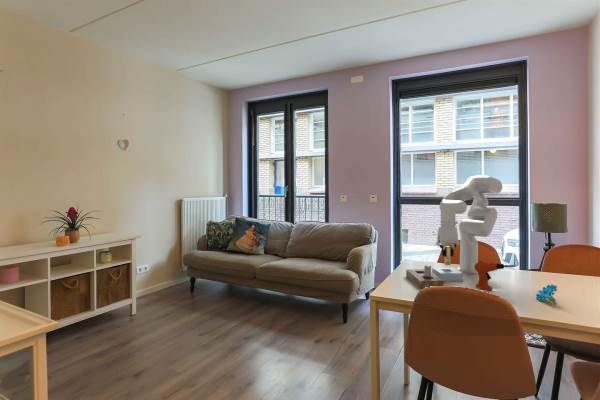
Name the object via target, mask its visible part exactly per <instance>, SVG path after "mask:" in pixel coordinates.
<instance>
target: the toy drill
mask: <svg viewBox="0 0 600 400" xmlns="http://www.w3.org/2000/svg"><path fill="white" fill-rule="evenodd" d="M474 268H475V270H476V271H477V272H478V283H476V284H475V288H476V289H477V290H479V291H483V292H484V291H485V290H486V291H487V292H492V291H493V287H492V286H490V285H489V280H491V279H492V277H491V276H490V273H489V272H494V271H497V270H501V269H502V270H504V269H505V268H516V265H515V264H509V265H508V264H507V265H506V264H505V265H504V264H503V263H497V262H492V261H489V262H488V261H483V260H479V261H478V263H476V264H475V266H474ZM486 291H485V292H486Z"/></svg>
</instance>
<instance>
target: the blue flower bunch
mask: <svg viewBox="0 0 600 400" xmlns="http://www.w3.org/2000/svg"><path fill="white" fill-rule="evenodd" d="M557 288H558V287H557V286H556V285H554V283H553V284H551V285H550V284H547V285H546V286H543V287H542V290H541V289H539V290H538V293H536V295H535V299H536V300H539V302H541V301H546V300H547V299H548V301H550V302H552V303H553V304H554V305H557V302H556V300H557V299H556V298H555V297H553V296H554V295H555V294H556V292H557V291H558V289H557Z"/></svg>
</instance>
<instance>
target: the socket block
mask: <svg viewBox="0 0 600 400" xmlns="http://www.w3.org/2000/svg"><path fill="white" fill-rule="evenodd" d="M431 272H432V273H433V274H435V275H436V276H438V277H439V278H441V279H442V280H444V282H445V281H447V282H449V281H450V282H451V281H452V282H453V281H454V282H455V281H456V282H457V281H458V282H459V281H463V280H464V279H463V276H464V274H463V273H464V272H463V271H459V270H458V269H457V268H454V267H453V266H451V267H431Z"/></svg>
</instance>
